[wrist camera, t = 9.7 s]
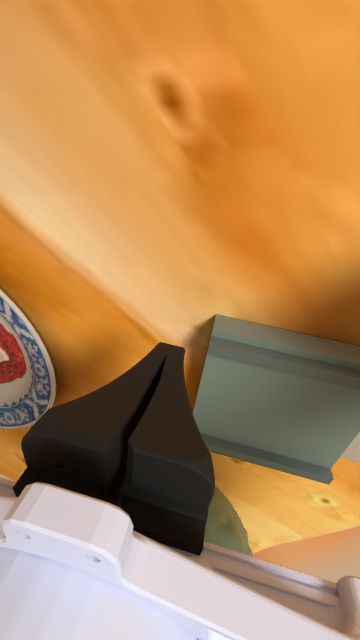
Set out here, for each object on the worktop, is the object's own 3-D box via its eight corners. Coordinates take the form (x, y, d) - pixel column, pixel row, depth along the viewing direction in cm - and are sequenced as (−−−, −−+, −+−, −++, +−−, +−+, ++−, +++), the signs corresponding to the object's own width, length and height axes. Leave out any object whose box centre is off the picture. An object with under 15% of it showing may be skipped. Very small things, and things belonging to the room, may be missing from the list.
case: (389, 352, 21) (412, 383, 18) (317, 454, 28) (326, 487, 26) (216, 314, 23) (211, 336, 20) (190, 420, 30) (184, 447, 27)
